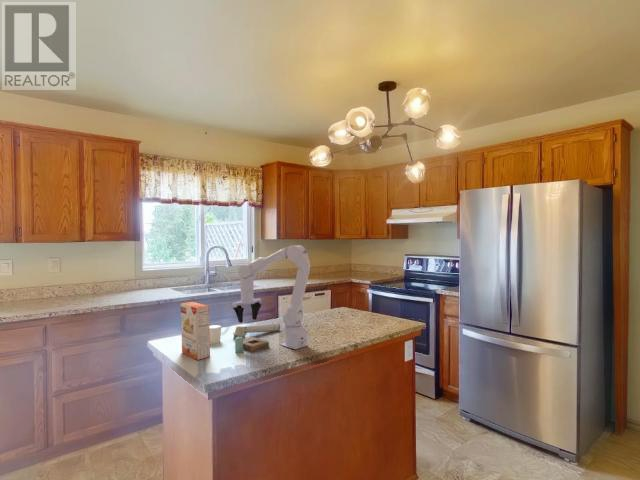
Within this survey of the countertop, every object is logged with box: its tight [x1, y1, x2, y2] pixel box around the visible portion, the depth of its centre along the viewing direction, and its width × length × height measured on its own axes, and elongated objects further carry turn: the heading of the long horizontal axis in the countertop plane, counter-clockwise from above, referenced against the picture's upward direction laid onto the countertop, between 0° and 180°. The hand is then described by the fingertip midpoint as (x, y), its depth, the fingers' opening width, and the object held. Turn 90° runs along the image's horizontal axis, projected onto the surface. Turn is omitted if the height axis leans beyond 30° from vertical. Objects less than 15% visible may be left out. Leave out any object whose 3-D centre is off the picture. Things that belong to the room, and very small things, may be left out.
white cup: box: [209, 324, 222, 344], centre depth 170 cm, size 7×7×7 cm
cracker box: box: [180, 301, 211, 361], centre depth 150 cm, size 14×6×21 cm, turn 45°
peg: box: [234, 337, 244, 355], centre depth 154 cm, size 3×3×6 cm
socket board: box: [243, 336, 270, 353], centre depth 161 cm, size 12×9×2 cm
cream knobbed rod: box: [232, 322, 281, 340], centre depth 180 cm, size 5×7×25 cm
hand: (247, 320), depth 168 cm, fingers open, 7 cm apart
